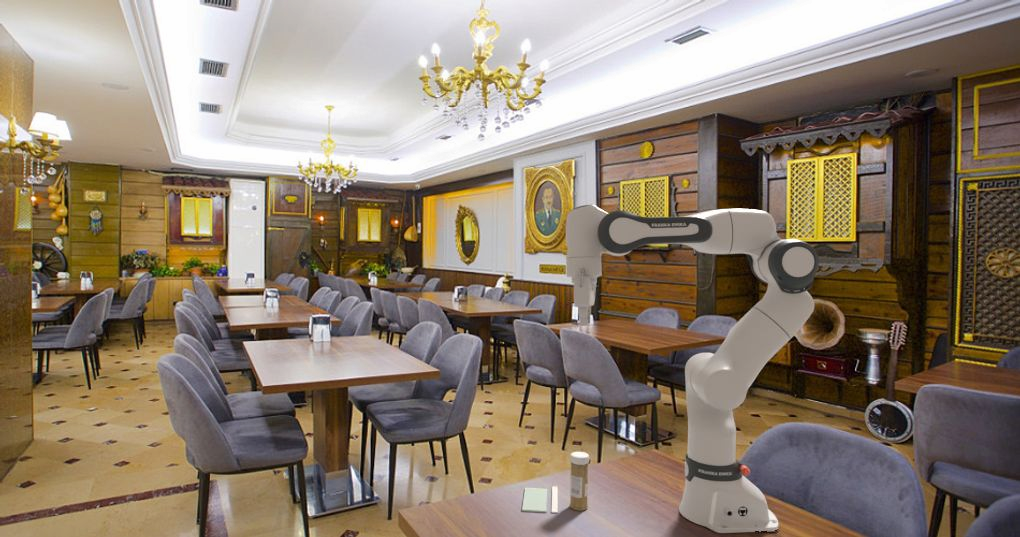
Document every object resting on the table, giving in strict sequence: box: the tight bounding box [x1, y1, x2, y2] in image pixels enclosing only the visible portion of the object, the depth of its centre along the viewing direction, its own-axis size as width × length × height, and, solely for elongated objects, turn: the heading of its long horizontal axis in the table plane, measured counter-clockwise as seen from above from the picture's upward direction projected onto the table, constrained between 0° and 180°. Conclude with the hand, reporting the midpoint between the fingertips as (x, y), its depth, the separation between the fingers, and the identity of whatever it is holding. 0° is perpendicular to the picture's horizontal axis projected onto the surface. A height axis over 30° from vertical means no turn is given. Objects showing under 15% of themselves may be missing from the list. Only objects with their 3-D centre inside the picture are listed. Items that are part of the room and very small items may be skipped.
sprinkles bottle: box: [569, 451, 590, 512], centre depth 139 cm, size 5×5×13 cm
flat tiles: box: [521, 485, 559, 514], centre depth 143 cm, size 9×15×1 cm, turn 175°
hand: (585, 324), depth 139 cm, fingers open, 8 cm apart
